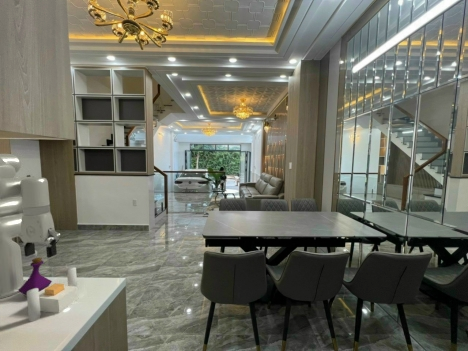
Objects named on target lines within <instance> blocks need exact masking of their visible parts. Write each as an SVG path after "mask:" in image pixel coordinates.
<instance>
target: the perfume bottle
mask: <svg viewBox="0 0 468 351" xmlns="http://www.w3.org/2000/svg"><path fill="white" fill-rule="evenodd" d="M31 256H34V257H35V258H33V259H32V260H31V261H32V262H31V263H30V267H32V271H31V274H30V276H29V277H28V279H27V281H26V282H25V284H24V285H23V286H22V287H21V288H20V289H19V290H18V291H19V292H18V293H21V294H23V295H24V296H25V297H27V291H29V290H31V289H34V288H38V290H39V292H40V291H41V290H43V289H45V288H47V287H48V286H50V285H52V282H53V281H52V280H51V279H48V278H47V277H45V276H43V275H42V274H40V267H41V265H43V264H44V260H42V257H38V251H37V250H36V249H35V253H34V254H32V255H31Z"/></svg>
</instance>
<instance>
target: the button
mask: <svg viewBox="0 0 468 351" xmlns="http://www.w3.org/2000/svg"><path fill="white" fill-rule="evenodd" d="M50 285H51V286H50ZM50 285H49V287H48V288H46V289H45V295H50V296H55V295H56V294H58V293H59V292H61V291H63V290H64V286H65V284H64V283H57V282H55V283H53V284H50Z"/></svg>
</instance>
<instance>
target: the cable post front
mask: <svg viewBox="0 0 468 351" xmlns="http://www.w3.org/2000/svg"><path fill="white" fill-rule="evenodd" d="M26 301H27V302H26V303H27V311H28V312H27V314H28V321H29V322H35V321H37V320H39V319H40V318H41V317H42V315H41V311H40V302H39V290H38V288H34V289H31V290H29V291H27V296H26Z"/></svg>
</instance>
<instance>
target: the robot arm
mask: <svg viewBox="0 0 468 351" xmlns="http://www.w3.org/2000/svg"><path fill="white" fill-rule="evenodd" d="M21 166H22V163H21V160H20V158H19V157H18V156H17V155H15V154H12V153H0V299H4V298H7V297H12V296H14V295H16V294H18V293H20V292H19V291H18V290H19V289H20V288H21V287H22V286H23V285H24V284H25V282H26V281H27V280H28V279H27V280H26V279H24V273H23V272H24V271H23V261H22V260H23V258H22V250H21V249H22V248H21V245H22V246H23V249H24V257H29V256H33V255H32V254H34V253H35V250H36V248H35V246H36V245H35V244H42V243H44V244H46V247H45V248H46V258H52V257H54V256H56V255H57V253H58V252H57V244H58V243H59V242H60V237H61V233H59V232H57V231H56V230H55V223H54V219H53V216H52V213H51V206H50V205H51V204H50V193H49V192H50V191H49V182H48V180H47V179H48V178H46V177H35V176H23V177H20V176H19V177H18V176H17V177H16V174H17V173H18V172H19V171H20V170H21ZM17 237H19V239H20V242H21V243H22V244H21V245H19V243H17V242H15V241H14V240H13V239H14V238H17Z"/></svg>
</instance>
